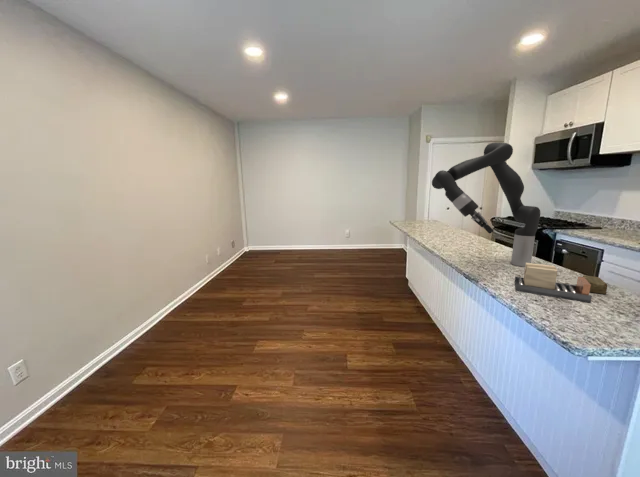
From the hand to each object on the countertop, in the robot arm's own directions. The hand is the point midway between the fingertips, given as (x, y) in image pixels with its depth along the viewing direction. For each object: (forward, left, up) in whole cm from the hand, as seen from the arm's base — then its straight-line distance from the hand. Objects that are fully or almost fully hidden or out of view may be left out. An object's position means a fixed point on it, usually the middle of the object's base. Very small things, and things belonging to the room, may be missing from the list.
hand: (491, 232), depth 127 cm
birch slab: (+1, +19, -21) cm, 29 cm away
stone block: (-12, +40, -24) cm, 48 cm away
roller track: (+1, +23, -24) cm, 33 cm away
